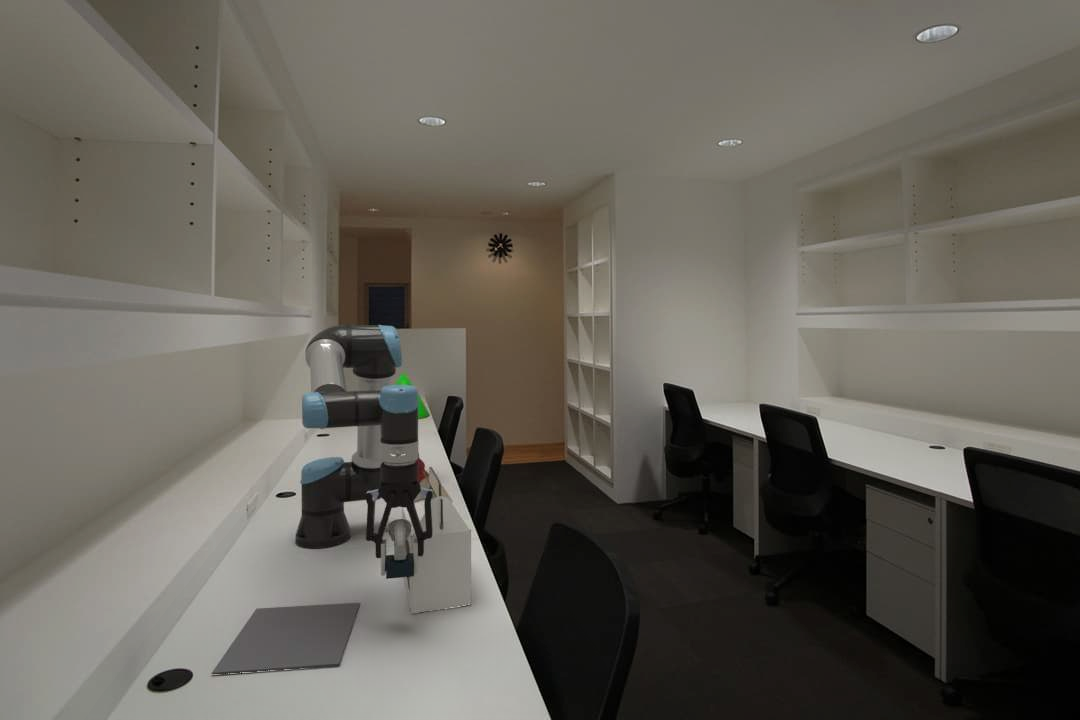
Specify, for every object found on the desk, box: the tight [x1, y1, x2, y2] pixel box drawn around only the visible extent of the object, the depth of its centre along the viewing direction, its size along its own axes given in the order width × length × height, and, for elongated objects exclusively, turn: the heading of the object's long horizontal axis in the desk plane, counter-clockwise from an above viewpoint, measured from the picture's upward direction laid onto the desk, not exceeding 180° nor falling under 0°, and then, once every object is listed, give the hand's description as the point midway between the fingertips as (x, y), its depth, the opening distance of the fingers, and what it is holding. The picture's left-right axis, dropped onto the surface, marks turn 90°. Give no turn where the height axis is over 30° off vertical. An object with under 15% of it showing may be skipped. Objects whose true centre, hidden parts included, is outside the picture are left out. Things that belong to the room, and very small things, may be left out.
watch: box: [385, 518, 414, 580], centre depth 121 cm, size 6×8×11 cm
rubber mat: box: [211, 602, 361, 675], centre depth 118 cm, size 24×22×1 cm
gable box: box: [401, 466, 472, 614], centre depth 139 cm, size 22×13×28 cm, turn 18°
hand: (400, 571), depth 121 cm, fingers closed on watch, 6 cm apart
